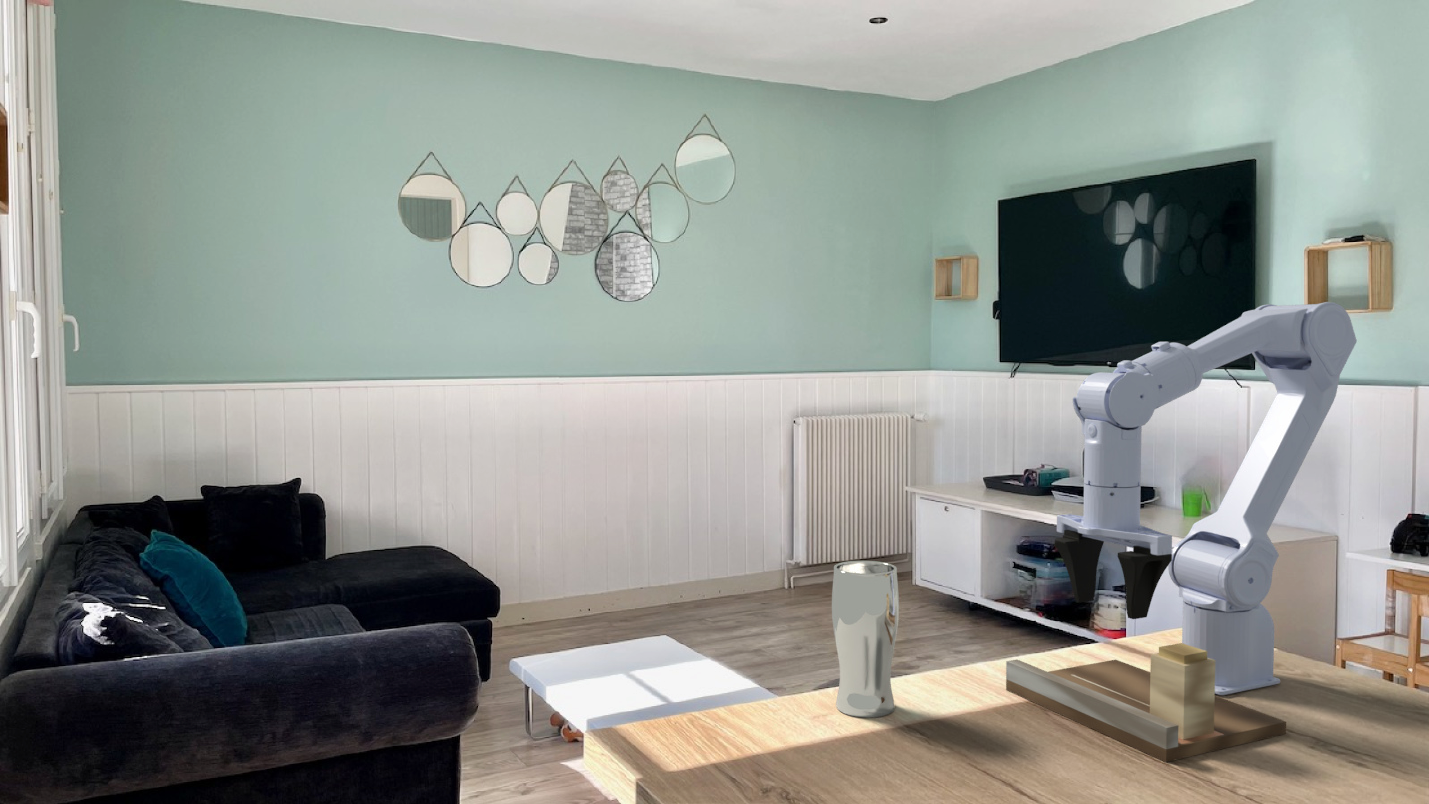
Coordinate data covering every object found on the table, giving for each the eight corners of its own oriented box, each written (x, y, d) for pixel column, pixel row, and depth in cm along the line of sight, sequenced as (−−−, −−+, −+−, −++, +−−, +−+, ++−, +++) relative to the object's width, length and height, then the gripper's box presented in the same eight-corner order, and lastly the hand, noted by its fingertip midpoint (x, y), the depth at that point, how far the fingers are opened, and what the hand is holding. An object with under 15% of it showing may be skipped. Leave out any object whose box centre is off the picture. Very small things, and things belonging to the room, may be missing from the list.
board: (1115, 669, 123) (1115, 642, 123) (1286, 733, 103) (1286, 701, 103) (1006, 689, 117) (1006, 661, 117) (1165, 762, 97) (1166, 727, 97)
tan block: (1179, 718, 104) (1181, 641, 104) (1213, 732, 101) (1215, 652, 100) (1149, 725, 103) (1150, 646, 102) (1183, 739, 99) (1184, 657, 98)
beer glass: (896, 697, 115) (896, 560, 114) (901, 720, 108) (901, 575, 107) (831, 695, 115) (831, 559, 114) (832, 718, 108) (832, 574, 108)
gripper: (1036, 478, 119) (1034, 598, 119) (1136, 495, 105) (1134, 630, 106) (1084, 474, 121) (1082, 591, 122) (1188, 491, 108) (1185, 621, 109)
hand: (1110, 609), depth 114 cm, fingers open, 7 cm apart
